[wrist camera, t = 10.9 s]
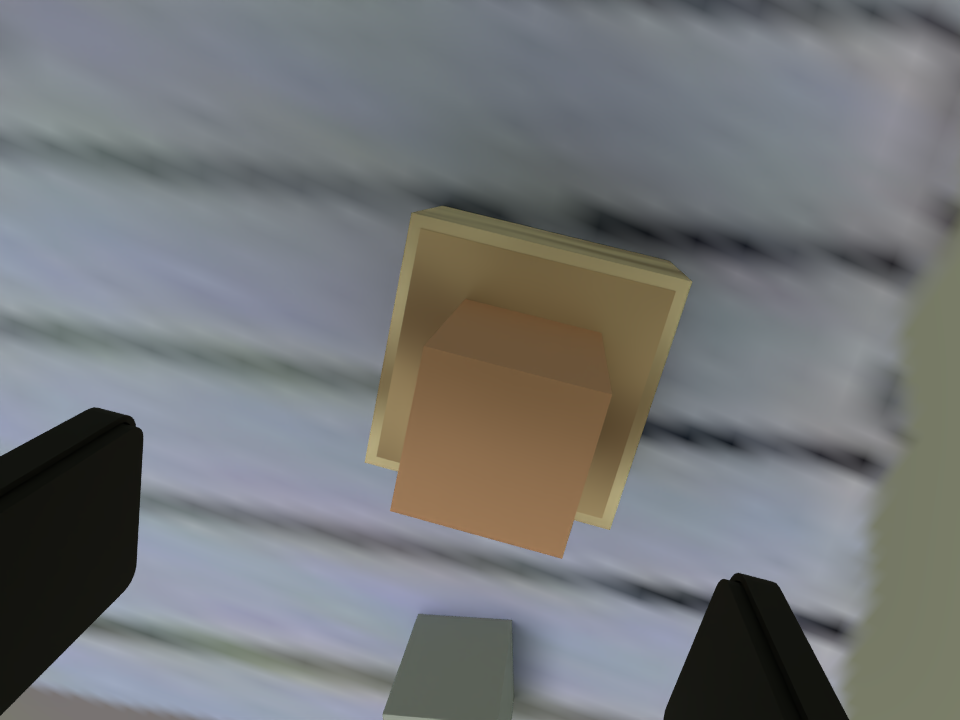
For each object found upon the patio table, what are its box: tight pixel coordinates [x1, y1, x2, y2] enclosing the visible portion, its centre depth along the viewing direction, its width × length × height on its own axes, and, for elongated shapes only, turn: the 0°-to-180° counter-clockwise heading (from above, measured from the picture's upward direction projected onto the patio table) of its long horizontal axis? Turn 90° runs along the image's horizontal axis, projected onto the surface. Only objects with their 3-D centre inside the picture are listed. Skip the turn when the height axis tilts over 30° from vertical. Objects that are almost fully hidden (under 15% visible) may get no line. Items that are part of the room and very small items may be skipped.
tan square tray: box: [365, 206, 692, 530], centre depth 24 cm, size 9×9×5 cm
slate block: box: [383, 614, 514, 720], centre depth 28 cm, size 4×4×6 cm
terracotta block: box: [390, 299, 612, 559], centre depth 18 cm, size 4×4×6 cm
